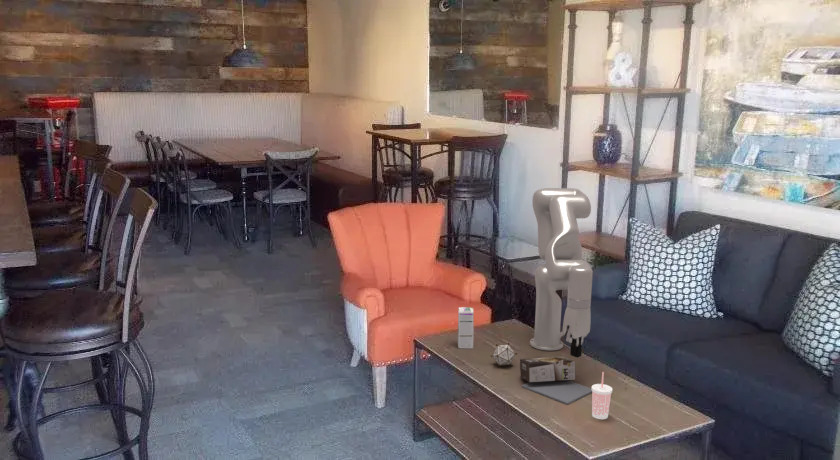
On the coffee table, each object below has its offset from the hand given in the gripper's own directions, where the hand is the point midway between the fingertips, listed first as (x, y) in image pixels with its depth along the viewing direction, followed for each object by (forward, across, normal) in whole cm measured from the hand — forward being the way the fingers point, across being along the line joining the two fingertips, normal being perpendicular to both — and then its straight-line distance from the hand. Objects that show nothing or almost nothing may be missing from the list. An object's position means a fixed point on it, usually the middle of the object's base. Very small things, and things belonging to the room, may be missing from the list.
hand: (575, 355), depth 242 cm
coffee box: (+5, 0, -2) cm, 5 cm away
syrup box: (+9, +2, -47) cm, 48 cm away
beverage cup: (+10, +16, +20) cm, 27 cm away
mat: (+9, +9, 0) cm, 13 cm away
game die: (+9, +6, -25) cm, 28 cm away
